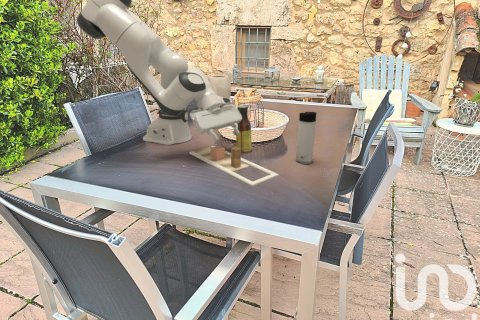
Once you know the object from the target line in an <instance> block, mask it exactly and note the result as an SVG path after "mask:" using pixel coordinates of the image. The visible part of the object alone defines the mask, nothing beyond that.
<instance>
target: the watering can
mask: <svg viewBox="0 0 480 320" xmlns="http://www.w3.org/2000/svg"><path fill="white" fill-rule="evenodd" d="M207 79H208V80H209V82H210V83H211V85H212V88H213V91H214V92H215V93H216V94H217V96H220V97H225V98H231V95H232V82H231V79H230V77H229V75H227V74H214V75H213V74H211V75H210V76H208V77H207Z"/></svg>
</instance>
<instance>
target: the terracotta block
mask: <svg viewBox="0 0 480 320" xmlns="http://www.w3.org/2000/svg"><path fill="white" fill-rule="evenodd" d="M214 146H215V147H211V146H210V147H209V148H210V149H211V158H213V159H215V160H220V159H223V158H225V155H226V154H225V151H226V148H225V147H223V146H222V145H214Z"/></svg>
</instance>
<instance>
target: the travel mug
mask: <svg viewBox="0 0 480 320" xmlns="http://www.w3.org/2000/svg"><path fill="white" fill-rule="evenodd" d="M317 114H318V113H317V112H316V111H304V112H299V116H298V117H299V118H298V126H297V127H298V128H297V140H296V141H297V143H296V155H295V161H296V163H298V164H301V165H310V164H312V163H313V157H314V147H315V145H314V144H315V134H316V126H317V125H316V123H317Z"/></svg>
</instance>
